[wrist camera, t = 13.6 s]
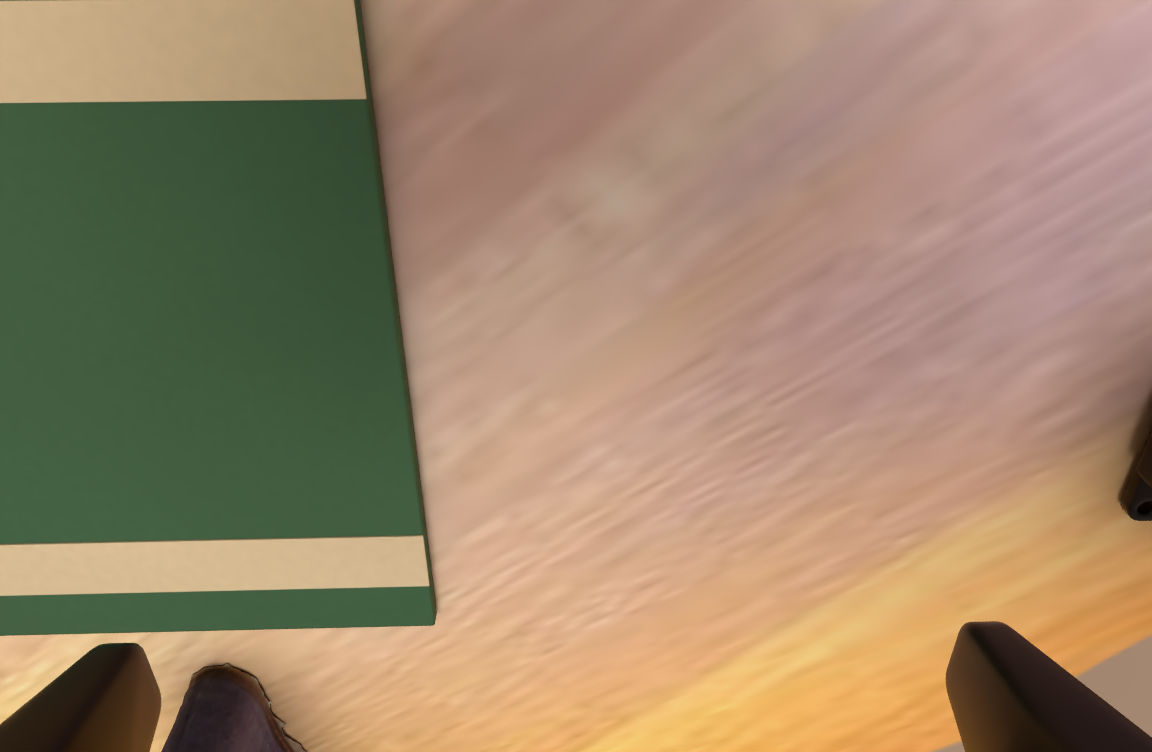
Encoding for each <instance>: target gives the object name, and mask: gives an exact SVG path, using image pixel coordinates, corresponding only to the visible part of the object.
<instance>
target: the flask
mask: <svg viewBox="0 0 1152 752" xmlns="http://www.w3.org/2000/svg"><path fill="white" fill-rule="evenodd" d="M271 703H272V702H268V699H266V698H265V696H264V692H263V691H262V690H261V688H260V686H259V683H258V681H257V679H256V678H254V677H253V676H251V677H250V675H249V674H247V673H244V672H242V673H241V671H240V670H238V669H235V668H232V667H231V666H230V665H229V664H228V663H226V664H225V665H223V666H212V667H207V668H202V669H201V670H200V671H199V672H197V673H196V674H193V676H192V678H191V681H190V684H189V687H188V690H187V692H186V694H185V696H184V700H183V703H182V706H181V707H180V710H179V713H178V715H177V718H176V721H175V723H174V725H173V728H172V730H171V732H170V734H169V736H168V738H167V741H166V743H165V745H164V747H163V749H162V751H161V752H306V751H304V750H303V749H302V747H301V745H300V744H298V743H296V741H293V740H292V739H290V738H288V737H287V736H286V737H285V735H284V734H283V731H282V728H283V726H284V725H285V724H286V723H283V722H281V721H280V720H278V719H277V718H275V717H274V716H273V714H272V713H271V711H270V704H271Z"/></svg>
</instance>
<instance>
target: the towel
mask: <svg viewBox="0 0 1152 752" xmlns="http://www.w3.org/2000/svg"><path fill="white" fill-rule="evenodd" d="M436 613H437V611H436V603H435V595H434V587H433V579H432V571H431V563H430V555H429V547H428V539H427V532H426V524H425V516H424V508H423V500H422V492H421V484H420V476H419V468H418V460H417V452H416V444H415V436H414V428H413V420H412V412H411V405H410V397H409V389H408V381H407V373H406V365H405V357H404V349H403V341H402V333H401V325H400V317H399V309H398V301H397V293H396V285H395V278H394V270H393V262H392V254H391V246H390V238H389V230H388V222H387V214H386V206H385V198H384V190H383V182H382V174H381V166H380V158H379V151H378V143H377V135H376V127H375V119H374V111H373V103H372V95H371V87H370V79H369V71H368V63H367V55H366V47H365V39H364V32H363V24H362V16H361V8H360V0H0V636H6V635H48V634H91V633H133V632H176V631H218V630H261V629H303V628H346V627H388V626H431V625H434V624H435V620H436Z"/></svg>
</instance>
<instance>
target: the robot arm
mask: <svg viewBox="0 0 1152 752" xmlns="http://www.w3.org/2000/svg"><path fill="white" fill-rule="evenodd" d="M1121 506H1122V509H1123V510H1124V511H1125V512H1126V513H1127V514H1128V515H1129V516H1130V517H1131V518H1132V519H1134V520H1138V521H1152V428H1151V431H1150V433H1149V436H1148V438H1147V440H1146V443H1145V445H1144V447H1143V450H1142V452H1141V454H1140V457H1139V459H1138V462H1137V464H1136V466H1135V469H1134V471H1133V473H1132V476H1131V478H1130V480H1129V483H1128V485H1127V488H1126V490H1125V492H1124V495H1123V497H1122V499H1121ZM946 687H947V693H948V696H949V700H950V703H951V706H952V710H953V713H954V716H955V720H956V723H957V726H958V730H959V733H960V736H961V739H962V743H963V746H964V749H965V752H1152V737H1150V736H1149V735H1148V734H1146V733H1145V732H1144V731H1143V730H1141V729H1140V728H1139V727H1137V726H1136V725H1135V724H1134V723H1133V722H1131V721H1130V720H1129V719H1127V718H1126V717H1125V716H1124V715H1122V714H1121V713H1120V712H1118V711H1117V710H1116V709H1114V708H1113V707H1112V706H1111V705H1109V704H1108V703H1107V702H1106V701H1104V700H1103V699H1102V698H1101V697H1099V696H1098V695H1097V694H1095V693H1094V692H1093V691H1091V690H1090V689H1089V688H1087V687H1086V686H1085V685H1084V684H1083V683H1081V682H1080V681H1078V680H1077V679H1076V678H1075V677H1074V676H1072V675H1071V674H1070V673H1069V672H1067V671H1066V670H1065V669H1063V668H1062V667H1061V666H1060V665H1058V664H1057V663H1056V662H1054V661H1053V660H1052V659H1051V658H1049V657H1048V656H1047V655H1045V654H1044V653H1043V652H1042V651H1040V650H1039V649H1038V648H1037V647H1035V646H1034V645H1033V644H1031V643H1030V642H1029V641H1028V640H1026V639H1025V638H1024V637H1022V636H1021V635H1020V634H1019V633H1017V632H1016V631H1015V630H1014V629H1012V628H1011V627H1009V626H1008V625H1006V624H1004V623H1002V622H996V621H990V622H968V623H966V624H964V625H963V626H962V627H961V629H960V631H959V634H958V637H957V640H956V643H955V646H954V649H953V652H952V655H951V658H950V661H949V664H948V667H947V672H946ZM160 709H161V694H160V690H159V687H158V685H157V682H156V680H155V677H154V674H153V672H152V669H151V667H150V664H149V662H148V659H147V657H146V654H145V652H144V650H143V648H142V647H141V646H139V645H138V644H136V643H108V644H102V645H99V646H97V647H95V648H93V649H92V650H90V651H89V652H88V653H87V654H85V655H84V656H83V657H82V658H81V659H79V660H78V661H77V662H76V663H74V664H73V665H72V666H71V667H70V668H68V669H67V670H66V671H65V672H64V673H62V674H61V675H60V676H59V677H57V678H56V679H55V680H54V681H53V682H51V683H50V684H49V685H48V686H46V687H45V688H44V689H43V690H42V691H40V692H39V693H38V694H37V695H35V696H34V697H33V698H32V699H31V700H29V701H28V702H27V703H26V704H24V705H23V706H22V707H21V708H20V709H18V710H17V711H16V712H15V713H14V714H12V715H11V716H10V717H9V718H7V719H6V720H5V721H4V722H3V723H1V724H0V752H149V751H150V748H151V744H152V741H153V737H154V733H155V730H156V726H157V722H158V719H159V715H160Z"/></svg>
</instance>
